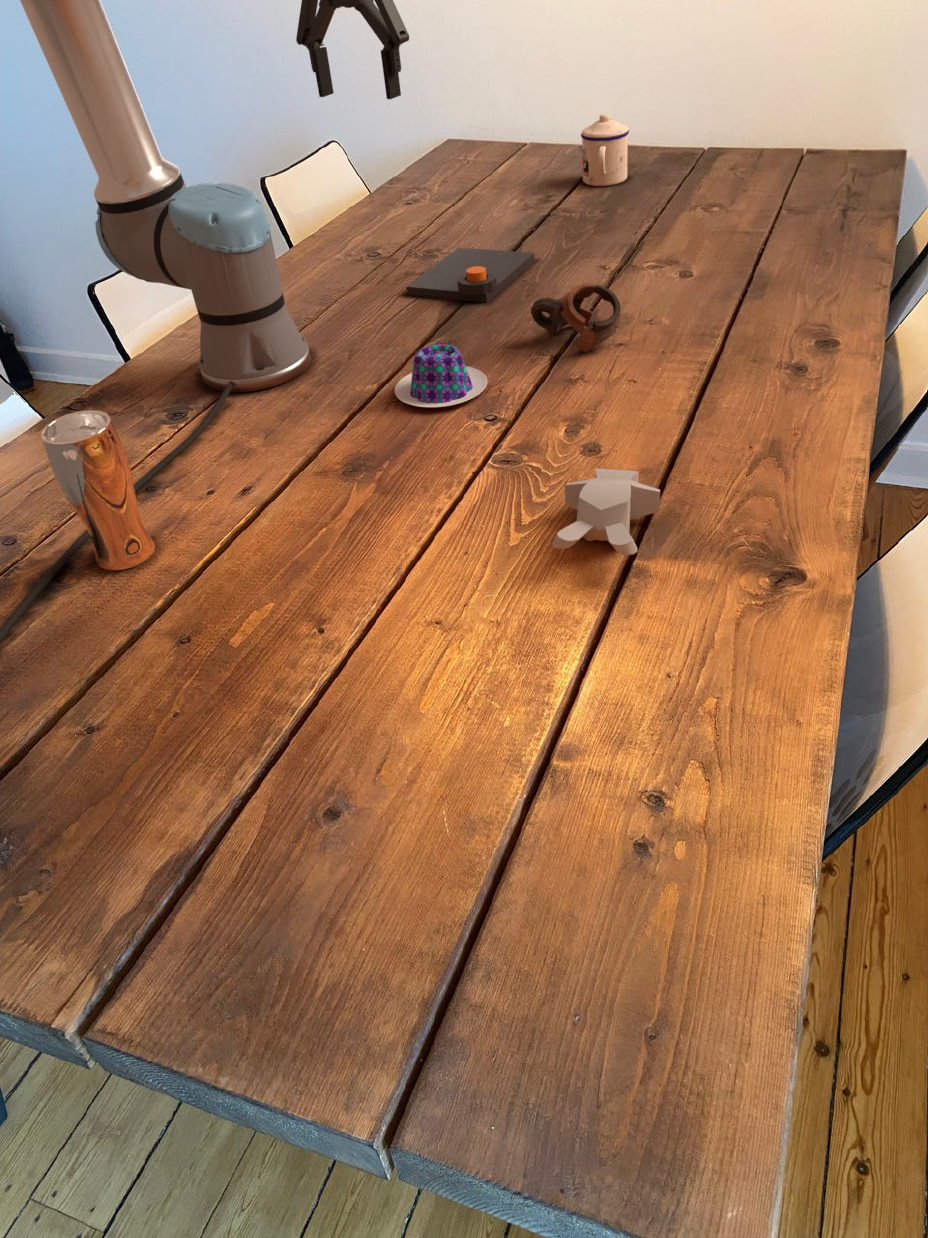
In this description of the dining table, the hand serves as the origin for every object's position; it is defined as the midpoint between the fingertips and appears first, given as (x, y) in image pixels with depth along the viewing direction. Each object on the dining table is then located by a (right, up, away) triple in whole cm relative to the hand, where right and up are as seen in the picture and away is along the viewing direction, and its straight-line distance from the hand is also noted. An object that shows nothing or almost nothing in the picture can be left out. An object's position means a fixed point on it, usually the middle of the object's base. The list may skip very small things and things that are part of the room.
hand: (359, 96), depth 149 cm
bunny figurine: (+31, -74, -55) cm, 97 cm away
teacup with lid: (+44, +3, +36) cm, 57 cm away
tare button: (+18, -31, -5) cm, 36 cm away
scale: (+18, -28, +3) cm, 33 cm away
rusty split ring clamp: (+32, -44, -19) cm, 58 cm away
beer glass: (-19, -76, -49) cm, 92 cm away
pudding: (+14, -53, -27) cm, 61 cm away
